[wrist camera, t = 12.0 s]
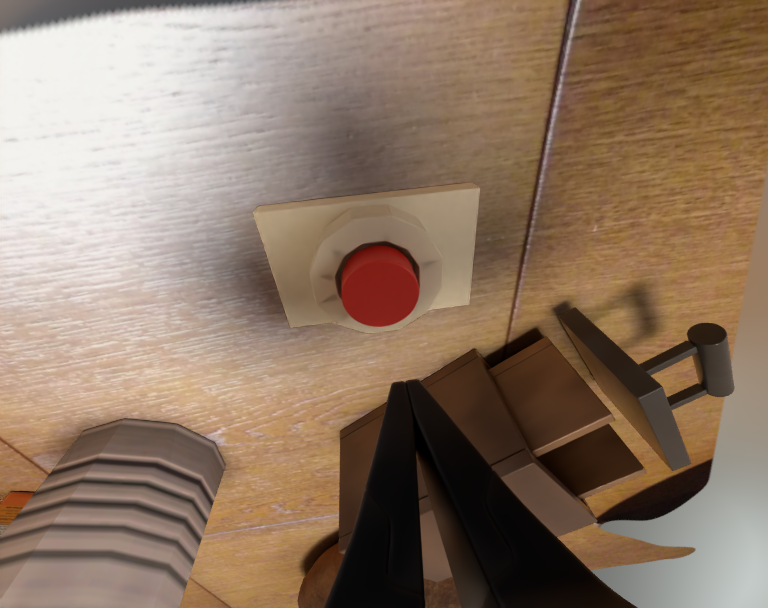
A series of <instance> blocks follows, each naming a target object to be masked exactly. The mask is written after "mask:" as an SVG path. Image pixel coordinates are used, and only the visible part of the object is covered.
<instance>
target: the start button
mask: <svg viewBox="0 0 768 608" xmlns="http://www.w3.org/2000/svg"><path fill="white" fill-rule="evenodd" d="M341 297H342V303H343V306H344V308H345V310H346V311H347V313H348V314H349V315H350V316H351V317H352V318H353V319H354V320H356V321H357V322H359V323H361V324H364V325H367V326H373V327H384V326H389V325H393V324H395V323H398V322H400V321H402V320H403V319H404V318H406V317H407V316H408V315H409V314H410V313H411V312H412V311H413V309H414V308H415V306H416V304H417V301H418V298H419V284H418V281H417V279H416V276H415V273H414V271H413V268H412V266H411V264H410V262H409V260H408V259H407V257H406V256H405V255H404V254H402V253H401V252H400V251H398V250H396V249H394V248H392V247H388V246H380V245H378V246H370V247H366V248H364V249H361V250H359V251H358V252H356V253H355V254H354V255H352V256H351V257H350V259H349V260H348V261H347V262H346V264H345V266H344V269H343V272H342V288H341Z"/></svg>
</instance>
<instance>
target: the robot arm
mask: <svg viewBox="0 0 768 608" xmlns="http://www.w3.org/2000/svg"><path fill="white" fill-rule="evenodd" d="M416 455H417V458H418V462H419V465H420V469H421V472H422V475H423V479H424V482H425V485H426V489H427V492H428V496H429V499H430V502H431V506H432V509H433V512H434V516H435V519H436V522H437V526H438V529H439V532H440V536H441V539H442V542H443V546H444V549H445V553H446V556H447V559H448V563H449V566H450V569H451V573H452V576H453V579H454V583H455V586H456V589H457V593H458V596H459V599H460V603H461V606H462V608H637V607H636V606H634V605H633V604H631V603H630V602H628V601H627V600H625V599H624V598H622V597H621V596H620V595H618V594H617V593H616V592H614V591H613V590H612V589H611V588H609V587H608V586H607V585H606V584H605V583H603V582H602V581H601V580H600V579H599V578H598V577H597V576H596V575H595V574H593V573H592V572H591V571H590V570H589V569H588V568H587V567H586V566H585V565H584V564H583V563H582V562H581V561H580V560H579V559H578V558H577V557H576V556H575V555H574V554H573V553H572V552H571V551H570V550H569V549H568V548H567V547H566V546H565V545H564V544H563V543H562V542H561V541H560V540H559V539H558V538H557V537H556V536H555V535H554V534H553V533H552V532H551V531H550V530H549V529H548V528H547V527H546V526H545V525H544V524H543V523H542V522H541V521H540V520H539V519H538V518H537V517H536V516H535V515H534V514H533V513H532V512H531V511H530V510H529V509H528V508H527V507H526V506H525V505H524V504H523V503H522V502H521V501H520V499H519V498H518V497H517V496H516V495H515V494H514V493H513V491H512V490H511V489H510V488H509V487H508V486H507V485H506V483H505V482H504V481H503V480H502V479H501V477H500V476H499V475H498V474H497V473H496V471H494V470H493V471H492V467H491V466H490V464H489V463H488V462H487V461H486V460H485V458H484V457H483V456H482V455H481V454H480V452H479V451H478V450H477V449H476V448H475V446H474V445H473V444H472V443H471V442H470V440H469V439H468V438H467V437H466V436H465V434H464V433H463V432H462V431H461V430H460V428H459V427H458V426H457V425H456V424H455V422H454V421H453V420H452V419H451V417H450V416H449V415H448V414H447V413H446V411H445V410H444V409H443V408H442V407H441V405H440V404H439V403H438V402H437V401H436V399H435V398H434V397H433V396H432V395H431V393H430V392H429V391H428V390H427V389H426V387H425V386H424V385H423V384H422V383H421V381H420V380H418V379H414V380H408V381H406V383H405V382H404V381H400V382H394V383H392V385H391V389H390V392H389V396H388V400H387V404H386V408H385V412H384V416H383V420H382V423H381V427H380V431H379V435H378V439H377V443H376V447H375V450H374V454H373V458H372V462H371V466H370V470H369V474H368V478H367V481H366V485H365V491H364V492H363V496H362V500H361V504H360V508H359V511H358V514H357V518H356V521H355V525H354V528H353V531H352V534H351V537H350V540H349V542H348V545H347V548H346V551H345V554H344V556H343V559H342V562H341V564H340V567H339V569H338V572H337V575H336V577H335V580H334V583H333V585H332V588H331V590H330V593H329V596H328V598H327V601H326V604H325V606H324V608H426V607H425V590H424V574H423V558H422V542H421V526H420V509H419V493H418V477H417V461H416Z"/></svg>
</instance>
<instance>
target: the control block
mask: <svg viewBox="0 0 768 608" xmlns="http://www.w3.org/2000/svg"><path fill="white" fill-rule="evenodd" d="M479 194H480V187H478V186H477V185H475V184H474V183H472V182H469V183H460V184H451V185H442V186H433V187H424V188H415V189H406V190H397V191H388V192H379V193H370V194H361V195H352V196H343V197H334V198H325V199H316V200H307V201H298V202H289V203H280V204H271V205H262V206H258V207H257V209H256V210H255V211H254V213H253V215H254V218H255V222H256V225H257V228H258V231H259V234H260V237H261V240H262V243H263V246H264V249H265V252H266V255H267V258H268V261H269V265H270V268H271V271H272V274H273V277H274V280H275V283H276V286H277V289H278V292H279V295H280V298H281V301H282V305H283V308H284V311H285V314H286V317H287V320H288V323H289V326H290V328H294V327H302V326H310V325H317V324H325V323H333V322H336V323H337V324H338V325H340V326H343V327H346V328H350V329H353V330H356V331H360V332H363V333H367V334H368V333H369V334H370V333H378V332H386V331H393V330H398V329H401V328H403V327H404V326H406V325H408V324H409V323H411V322H413V321H414V320H416V319H418V318H419V317H421V316H423V315H424V314H425V313H426V312H427V311H428V310H434V309H442V308H450V307H457V306H465V305H469V301H470V290H471V280H472V269H473V258H474V248H475V237H476V226H477V216H478V205H479ZM378 245H380V246H388V247H392V248H394V249H396V250H398V251H400V252H401V253H402V254H404V255H405V256H406V257H407V259H408V260H409V262H410V264H411V266H412V268H413V271H414V273H415V276H416V279H417V281H418V284H419V298H418V301H417V304H416V306H415V308H414V309H413V311H412V312H411V313H410V314H409V315H408V316H407V317H406V318H404V319H403V320H402V321H400V322H398V323H395V324H393V325H389V326H384V327H373V326H367V325H364V324H361V323H359V322H357V321H356V320H354V319H353V318H352V317H351V316H350V315H349V314H348V313H347V311H346V310H345V308H344V306H343V303H342V297H341V288H342V272H343V269H344V266H345V264H346V262H347V261H348V260H349V259H350V257H351V256H352V255H354V254H355V253H356V252H358V251H359V250H361V249H364V248H366V247H370V246H378Z"/></svg>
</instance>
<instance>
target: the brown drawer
mask: <svg viewBox="0 0 768 608" xmlns="http://www.w3.org/2000/svg"><path fill="white" fill-rule="evenodd" d="M559 319H560V321H561V323H562V324H563V326H564V328H565V329H566V331H567V333H568V334H569V336H570V338H571V340H572V341H573V343H574V345H575V346H576V348H577V350H578V351H579V353H580V355H581V357H582V358H583V360H584V362H585V363H586V365H587V367H588V368H589V370H590V372H591V374H592V375H593V377H594V379H595V380H596V382H597V384H598V385H599V387H600V389H601V390H602V391H603V393H604V394H605V395H606V396H607V397H608V398H609V399H610V401H611V402H612V403H613V404H614V405H615V406H616V407H617V409H618V410H619V411H620V412H621V413H622V414H623V415H624V417H625V418H626V419H627V420H628V421H629V422H630V423H631V425H632V426H633V427H634V428H635V429H636V430H637V431H638V433H639V434H640V435H641V436H642V437H643V438H644V439H645V440H646V442H647V443H648V444H649V445H650V446H651V447H652V448H653V450H654V451H655V452H656V453H657V454H658V455H659V456H660V458H661V459H662V460H663V461H664V462H665V463H666V464H667V466H668V467H669V468H670V469H671V470H672V471H674V470H677V469H679V468H682V467H684V466H687V465H689V464H691V461H690V459H689V456H688V453H687V451H686V448H685V445H684V443H683V440H682V437H681V435H680V432H679V429H678V427H677V424H676V421H675V419H674V416H673V413H672V411H671V410H673V409H675V408H678V407H680V406H682V405H684V404H686V403H689V402H691V401H693V400H695V399H698V398H700V397H702V396H704V395H706V394H709V395H711V396H715V397H725V396H728V395H730V394H732V392H733V391H734V382H733V375H732V367H731V360H730V352H729V345H728V337H727V332H726V330H725V329H724V328H722V327H721V326H719V325H717V324H713V323H700V324H696V325H694V326H692V327H691V328H690V329H689V330H688V332H687V336H688V340H689V341H685V342H683V343H681V344H679V345H677V346H675V347H673V348H671V349H669V350H667V351H665V352H663V353H661V354H659V355H657V356H655V357H653V358H651V359H649V360H647V361H645V362H643V363H641V364H639V365H638V364H637V363H636V362H635V361H634V360H633V359H632V358H630V357H629V356H628V355H627V354H626V353H625V352H624V351H623V350H622V349H621V348H619V347H618V346H617V345H616V344H615V343H614V342H613V341H612V340H611V339H610V338H608V337H607V336H606V335H605V334H604V333H603V332H602V331H601V330H600V329H599V328H597V327H596V326H595V325H594V324H593V323H592V322H591V321H590V320H589V319H588V318H586V317H585V316H584V315H583V314H582V313H581V312H580V311H579V310H578V309H577V308H573V309H571V310H569V311H568V312H566V313H564V314H563V315H561V316H559ZM691 355H692V356H693V360H694V364H695V368H696V372H697V376H698V380H699V384H698V383H697V384H695V385H693V386H691V387H689V388H686V389H684V390H682V391H680V392H678V393H676V394H673V395H671V396H669V397H666V395H665V392H664V389H663V387H662V386H661V385H660V384H659V383H658V382H657V381H656V380H655V379H654V378H652V377H651V375H653V374H655V373H657V372H659V371H661V370H663V369H665V368H667V367H669V366H671V365H673V364H675V363H677V362H679V361H681V360H683V359H685V358H687V357H689V356H691ZM488 371H489V373H490V375H491V377H492V379H493V381H494V383H495V385H496V386H497V388H498V390H499V392H500V394H501V396H502V398H503V400H504V402H505V404H506V405H507V407H508V409H509V411H510V413H511V415H512V417H513V419H514V421H515V423H516V424H517V426H518V428H519V430H520V432H521V434H522V436H523V438H524V440H525V442H526V443H527V445H528V447H529V449H530V451H531V454H532V455H533V456H534V457H535V458H536V459H537V460H539V461H540V462H541V463H542V464H543V465H544V466H545V467H546V468H547V469H548V470H549V471H550V472H551V473H552V474H553V475H554V476H555V477H556V478H558V479H559V480H560V481H561V482H562V483H563V484H564V485H565V486H566V487H567V488H568V489H569V490H570V491H571V492H572V493H573V494H574V495H575V496H577V497H578V498H579V499H580V500H581V499H584V498H586V497H589V496H591V495H594V494H596V493H599V492H601V491H604V490H606V489H609V488H611V487H614V486H616V485H619V484H621V483H623V482H626V481H628V480H631V479H633V478H636V477H638V476H641V475H643V474H646V473H647V471H646V470H645V468H644V467H643V466H642V464H641V463H640V462H639V461H638V459H637V458H636V457H635V456H634V454H633V453H632V452H631V451H630V449H629V448H628V447H627V446H626V445H625V443H624V442H623V441H622V440H621V438H620V437H619V436H618V435H617V433H616V432H615V431H614V430H613V428H612V427H611V426H610V425H609V423H611V422H613V421H615V418H614V416H613V415H612V413H611V412H610V411H609V410H608V408H607V407H606V406H605V405H604V404H603V403H602V401H601V400H600V399H599V398H598V397H597V395H596V394H595V393H594V392H593V391H592V390H591V388H590V387H589V386H588V385H587V384H586V382H585V381H584V380H583V379H582V378H581V377H580V375H579V374H578V373H577V372H576V371H575V369H574V368H573V367H572V366H571V365H570V364H569V362H568V361H567V360H566V359H565V358H564V356H563V355H562V354H561V353H560V352H559V351H558V349H557V348H556V347H555V346H554V345H553V343H552V342H551V341H550V340H549V339H548V338H547V337H544V338H543V339H541V340H539V341H537V342H536V343H534V344H532V345H531V346H529V347H527V348H525V349H524V350H522V351H520V352H519V353H517V354H515V355H513V356H512V357H510V358H508V359H506V360H505V361H503V362H501V363H500V364H498V365H496V366H494V367H493V368H491V369H489V370H488Z"/></svg>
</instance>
